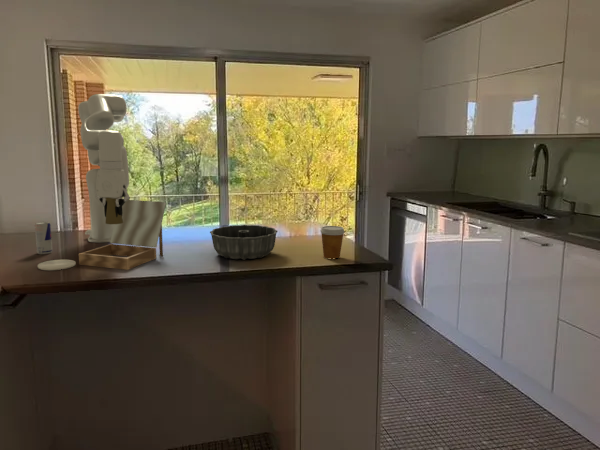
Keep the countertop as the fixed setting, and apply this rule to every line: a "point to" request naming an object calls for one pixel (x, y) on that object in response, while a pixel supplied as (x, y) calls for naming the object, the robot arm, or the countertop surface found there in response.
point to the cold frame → (131, 237)
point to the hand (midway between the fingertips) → (113, 216)
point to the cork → (112, 212)
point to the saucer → (56, 264)
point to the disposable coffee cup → (332, 241)
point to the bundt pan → (243, 241)
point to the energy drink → (43, 237)
